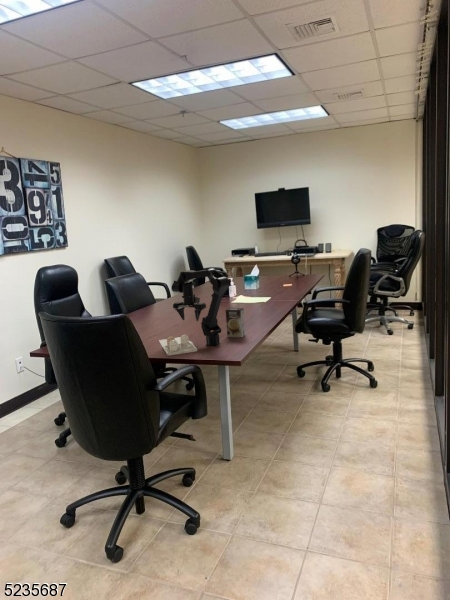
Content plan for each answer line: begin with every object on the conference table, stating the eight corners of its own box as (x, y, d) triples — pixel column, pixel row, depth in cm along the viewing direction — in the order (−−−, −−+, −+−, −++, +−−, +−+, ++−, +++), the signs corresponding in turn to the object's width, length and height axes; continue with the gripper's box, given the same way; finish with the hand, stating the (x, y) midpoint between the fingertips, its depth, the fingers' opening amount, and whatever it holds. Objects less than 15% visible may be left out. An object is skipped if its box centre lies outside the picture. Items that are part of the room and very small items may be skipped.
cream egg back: (190, 345, 243) (189, 333, 242) (185, 347, 239) (184, 336, 238) (184, 344, 245) (183, 333, 244) (179, 347, 242) (178, 335, 240)
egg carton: (197, 352, 233) (197, 349, 232) (167, 356, 228) (167, 353, 228) (185, 337, 262) (185, 334, 262) (158, 341, 258) (158, 338, 258)
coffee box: (226, 337, 256) (224, 309, 253) (230, 334, 262) (228, 307, 259) (242, 337, 253) (240, 309, 250) (245, 334, 259) (243, 307, 256)
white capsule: (180, 351, 234) (178, 339, 233) (174, 353, 230) (173, 341, 229) (173, 350, 236) (172, 338, 235) (168, 352, 233) (166, 340, 232)
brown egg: (177, 347, 241) (176, 335, 239) (172, 350, 237) (170, 338, 236) (171, 346, 243) (170, 335, 242) (165, 349, 240) (164, 337, 238)
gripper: (210, 291, 250) (212, 318, 253) (182, 290, 259) (184, 316, 262) (199, 294, 241) (201, 323, 244) (171, 293, 250) (173, 321, 253)
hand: (190, 320), depth 251 cm, fingers open, 9 cm apart
